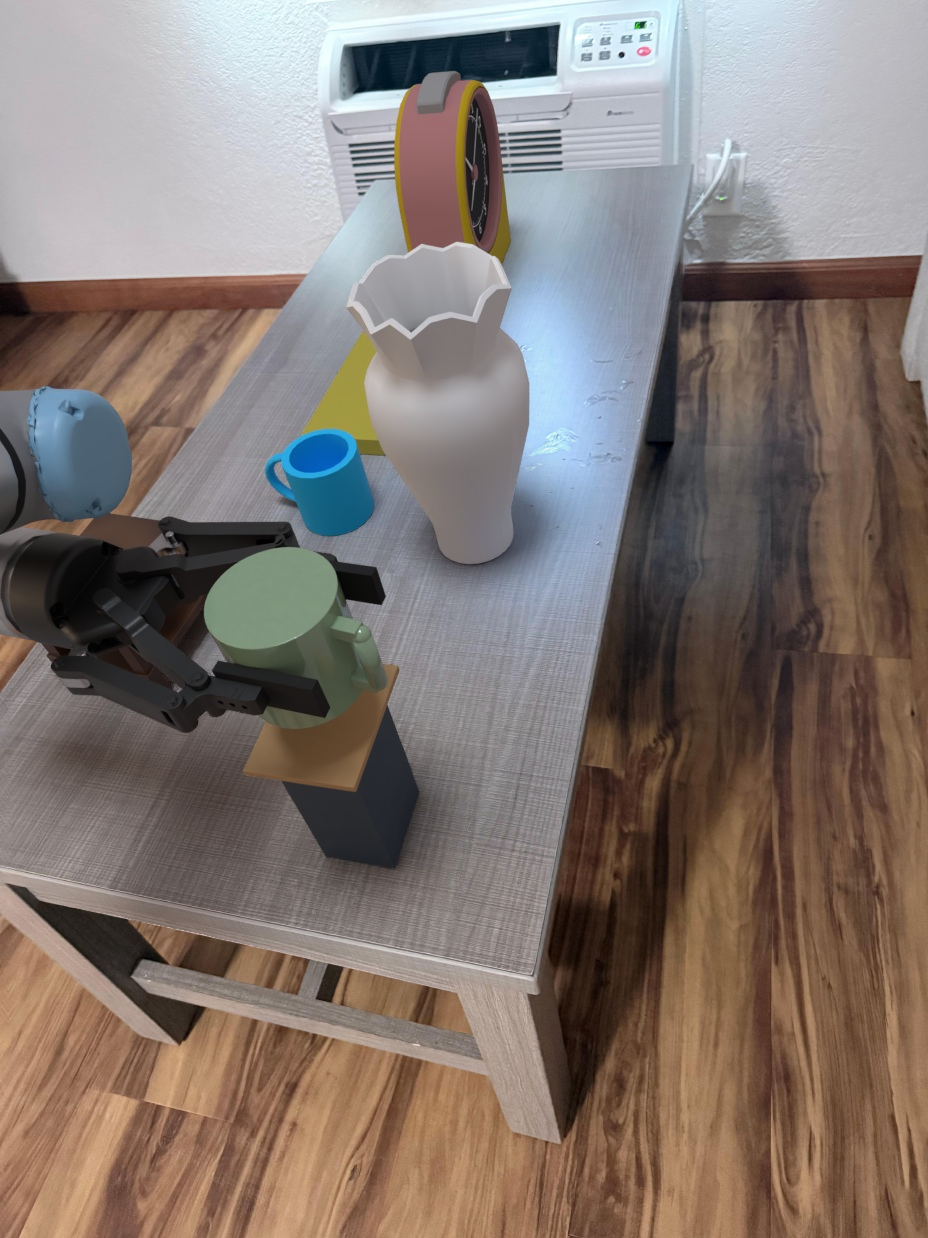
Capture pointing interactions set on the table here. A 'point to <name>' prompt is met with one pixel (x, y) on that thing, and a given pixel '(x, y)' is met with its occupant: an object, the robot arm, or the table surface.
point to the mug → (325, 481)
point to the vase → (447, 389)
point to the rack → (176, 624)
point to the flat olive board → (349, 401)
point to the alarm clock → (450, 166)
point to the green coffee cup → (294, 628)
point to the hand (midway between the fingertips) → (351, 639)
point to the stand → (346, 778)
